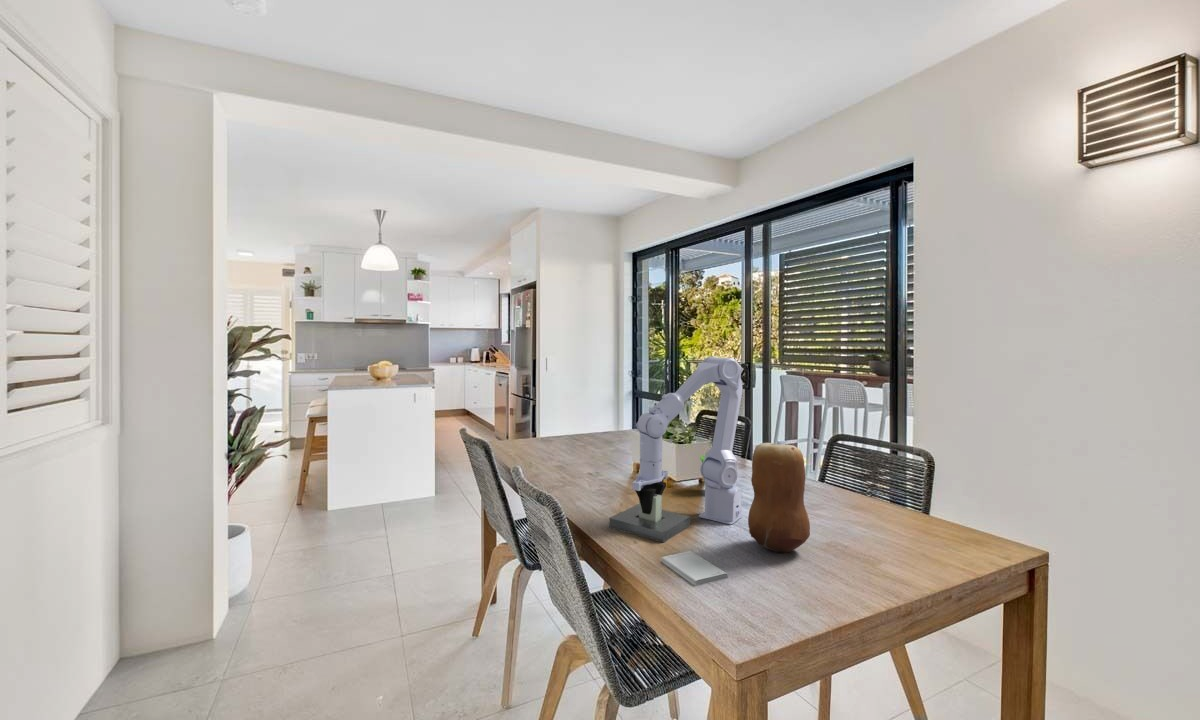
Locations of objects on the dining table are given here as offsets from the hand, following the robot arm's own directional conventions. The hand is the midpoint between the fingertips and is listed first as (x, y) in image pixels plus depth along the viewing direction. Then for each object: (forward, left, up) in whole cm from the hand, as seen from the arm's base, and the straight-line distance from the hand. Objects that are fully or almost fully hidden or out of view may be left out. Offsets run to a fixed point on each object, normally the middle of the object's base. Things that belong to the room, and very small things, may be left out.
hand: (650, 511), depth 133 cm
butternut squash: (-31, -6, -4) cm, 32 cm away
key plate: (0, 0, -4) cm, 4 cm away
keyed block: (0, 0, -4) cm, 4 cm away
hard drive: (-20, +15, -5) cm, 26 cm away
